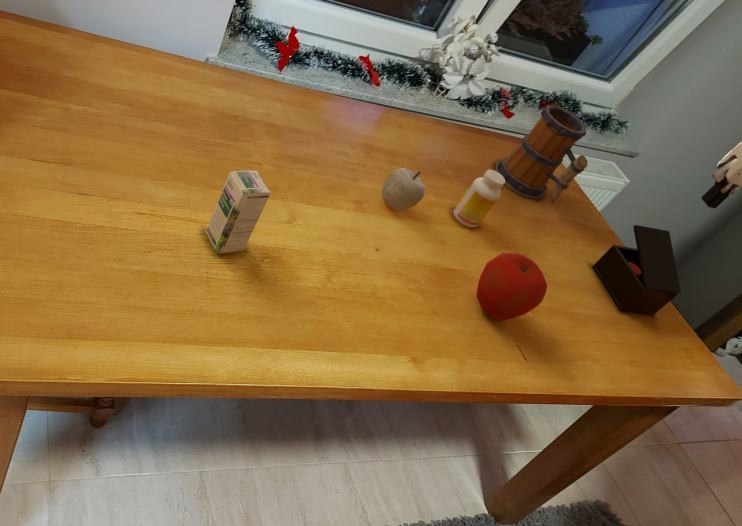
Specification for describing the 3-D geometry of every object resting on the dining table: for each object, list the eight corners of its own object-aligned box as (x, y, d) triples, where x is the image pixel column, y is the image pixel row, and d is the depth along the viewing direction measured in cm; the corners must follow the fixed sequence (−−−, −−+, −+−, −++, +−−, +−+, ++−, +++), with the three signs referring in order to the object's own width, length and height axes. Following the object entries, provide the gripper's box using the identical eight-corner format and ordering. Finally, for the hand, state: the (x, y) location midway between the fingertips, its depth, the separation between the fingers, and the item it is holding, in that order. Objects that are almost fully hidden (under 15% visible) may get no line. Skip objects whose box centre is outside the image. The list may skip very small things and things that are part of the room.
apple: (451, 299, 135) (491, 251, 125) (479, 279, 143) (518, 232, 134) (500, 344, 131) (544, 297, 121) (525, 320, 139) (569, 274, 130)
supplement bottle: (481, 231, 156) (513, 189, 147) (456, 225, 154) (488, 183, 145) (473, 211, 160) (504, 170, 152) (449, 205, 158) (478, 163, 150)
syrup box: (203, 231, 122) (227, 170, 113) (232, 228, 126) (258, 169, 116) (216, 254, 119) (242, 194, 110) (245, 251, 123) (272, 192, 113)
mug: (565, 211, 177) (617, 151, 164) (529, 213, 169) (580, 151, 156) (520, 161, 187) (566, 102, 174) (484, 161, 180) (529, 99, 167)
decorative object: (368, 200, 148) (389, 165, 141) (386, 186, 154) (406, 152, 148) (401, 225, 146) (424, 190, 139) (417, 209, 152) (439, 176, 146)
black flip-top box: (591, 266, 163) (613, 244, 158) (623, 271, 167) (646, 250, 162) (620, 311, 154) (644, 289, 149) (653, 315, 158) (678, 294, 153)
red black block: (627, 283, 162) (642, 269, 159) (625, 291, 159) (640, 277, 156) (613, 273, 163) (627, 259, 159) (610, 281, 160) (624, 266, 156)
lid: (632, 225, 153) (635, 224, 152) (666, 232, 157) (669, 231, 156) (644, 288, 149) (647, 287, 148) (678, 293, 153) (681, 292, 152)
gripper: (767, 139, 126) (693, 210, 138) (818, 153, 131) (742, 220, 143) (742, 115, 131) (672, 186, 143) (792, 129, 136) (720, 196, 148)
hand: (707, 203), depth 143 cm, fingers closed
